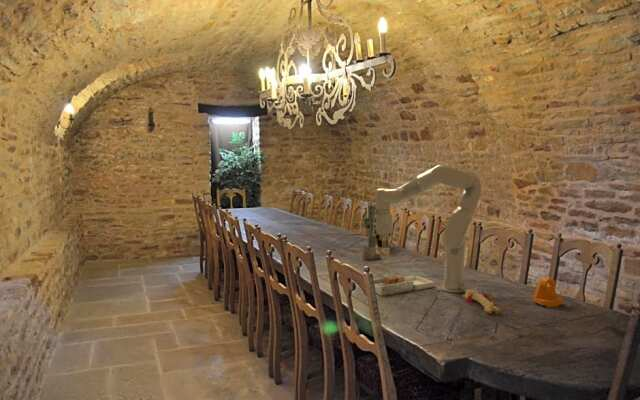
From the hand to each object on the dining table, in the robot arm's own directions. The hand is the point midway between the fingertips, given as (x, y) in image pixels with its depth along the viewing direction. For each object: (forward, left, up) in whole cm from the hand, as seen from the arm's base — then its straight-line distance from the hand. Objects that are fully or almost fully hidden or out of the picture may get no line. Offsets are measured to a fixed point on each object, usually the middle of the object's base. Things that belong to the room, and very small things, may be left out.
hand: (382, 246), depth 267 cm
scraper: (0, 0, -4) cm, 4 cm away
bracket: (-69, -42, -19) cm, 83 cm away
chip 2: (-14, 0, -16) cm, 21 cm away
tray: (-14, -11, -19) cm, 26 cm away
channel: (-14, +6, -19) cm, 24 cm away
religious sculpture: (+74, -51, -19) cm, 92 cm away
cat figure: (-54, -14, -20) cm, 59 cm away
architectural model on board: (+46, -27, -20) cm, 57 cm away
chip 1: (-14, +6, -16) cm, 22 cm away
